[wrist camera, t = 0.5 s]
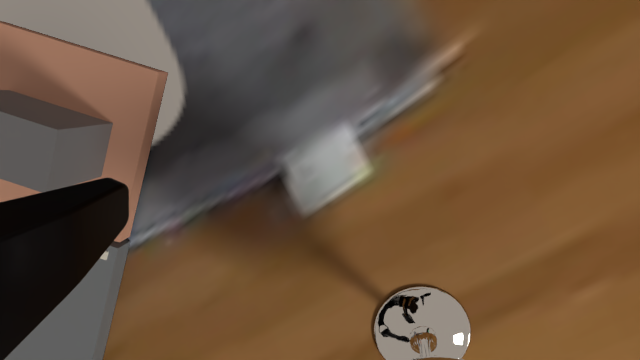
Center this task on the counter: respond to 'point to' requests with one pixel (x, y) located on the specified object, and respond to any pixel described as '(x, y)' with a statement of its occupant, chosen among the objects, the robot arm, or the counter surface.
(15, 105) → the stub
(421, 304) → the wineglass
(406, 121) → the counter surface
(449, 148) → the counter surface
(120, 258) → the panel
